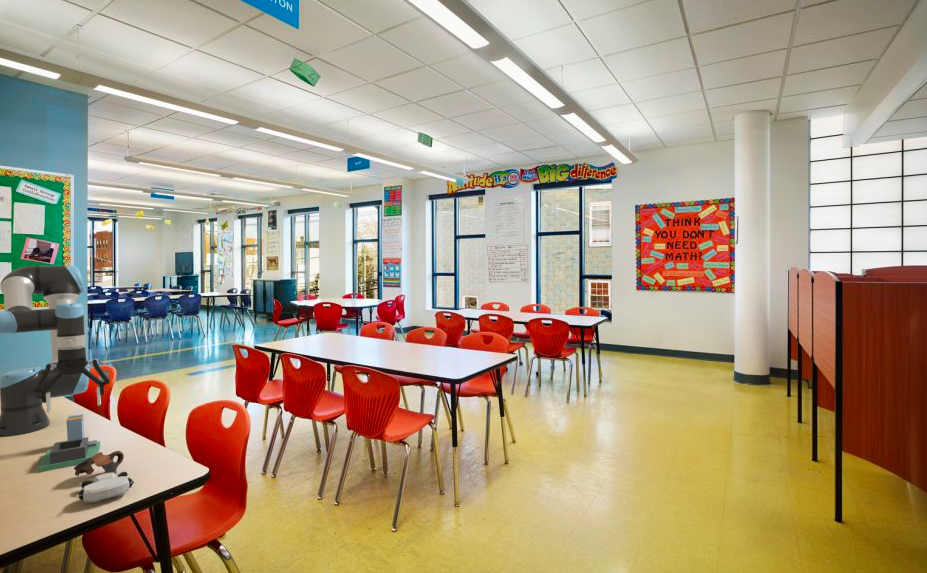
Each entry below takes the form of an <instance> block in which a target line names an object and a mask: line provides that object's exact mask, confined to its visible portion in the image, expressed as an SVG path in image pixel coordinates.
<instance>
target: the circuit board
mask: <svg viewBox="0 0 927 573" xmlns="http://www.w3.org/2000/svg"><path fill="white" fill-rule="evenodd" d="M100 449H101V441H100V440H99V441H98V440H97V439H95V440H89V437H88V436H87V437H85V438H80V439H74V440H68V439H67V440H65V441H64V440H63V441H58V442H57V441H56V442H55V443H53V446H52V449H49V450H46V452H45V453H44V456H43V457H42V459H41V461H40V462H39V465H38V467H37V472H38V473H42V472H46V471H52V470H58V469H63V468H69V467H72V466H73V467H74V466H77V465H78V464H80V463H82V462H83V461H85V460H87V459H89V458H91V457H92V456H94V455H96V454H97V453H99V452H100Z"/></svg>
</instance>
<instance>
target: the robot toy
mask: <svg viewBox="0 0 927 573" xmlns="http://www.w3.org/2000/svg"><path fill="white" fill-rule="evenodd" d="M101 474H102V473H101ZM101 474H99V475H97V476H95V477H94V478H93V481H92V480H84V481H83V482H81V483H79V484H78V486H79V487H81V488H82V489H81V490H79V492H78V494H76V497H77V498H78V499H80V500H81V501H84V502H86V503H87V502H88V503H91V504H92V503H94V504H95V503H99V502H100V501H101V500H105V499H109V498H118V497H120V496H122V495H124V494H125V493H126V492H128V491H129V490H130V489H131V488H132V486H133V484H135V483H136V481H135V480H133V479H132V478H131V477H128V475H129V474H130V472H129V471H122V472H120V473H118V474H115V473H106V474H102V475H101Z"/></svg>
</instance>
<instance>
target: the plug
mask: <svg viewBox="0 0 927 573" xmlns="http://www.w3.org/2000/svg"><path fill="white" fill-rule="evenodd" d="M84 418H85V417H84V413H81V414H75V415H68V417H67V418H66V435H67V441H68V440H74V439H80V438H86V437H85V422H84V421H85V420H84Z"/></svg>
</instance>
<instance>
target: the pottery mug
mask: <svg viewBox="0 0 927 573" xmlns="http://www.w3.org/2000/svg"><path fill="white" fill-rule="evenodd" d="M115 457H117V459H116V461H114V458H115ZM124 458H125V454H124V453H123V452H122V451H120V450H116V451H112V452H111V453H109V454H107V455H106V454H104V453H103V452H102V451H99V453H97V454H96V455H94V456H92V457H91V458H89V459H87V460H85V461H83V462H82V463H80V464H78V465H74V466H73V469H74V470H75V473H74V475H75V476H77V477H79V476H80V475H81V474H86V475H88V476H90V475H92V474H93V473H94V471H95V469H94V467H92V466H93V465H95V466H96V467H98V468H99V467H101V468H102V469H103V470H104V471H103V472H102V473H101V474H100V475H102V474H106V473H115V474H116V475H118V472H117V468H119V466H120V465H121V464H122V463H123V461H124Z"/></svg>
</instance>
